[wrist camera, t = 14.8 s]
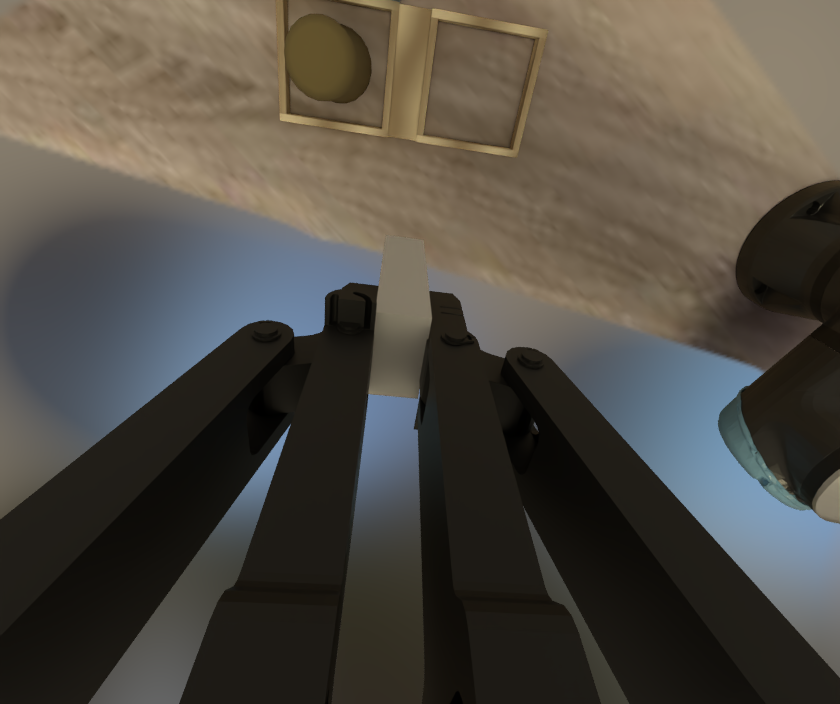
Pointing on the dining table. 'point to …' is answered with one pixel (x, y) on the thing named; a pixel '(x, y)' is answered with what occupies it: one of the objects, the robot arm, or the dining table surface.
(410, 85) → the caddy
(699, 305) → the dining table surface
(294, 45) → the cork
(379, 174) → the dining table surface
